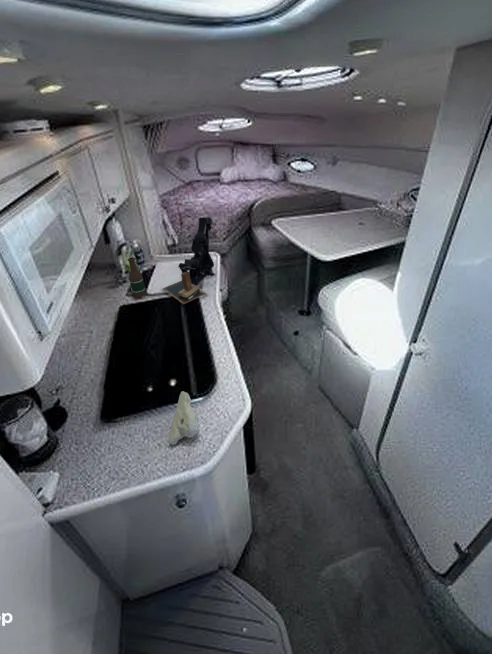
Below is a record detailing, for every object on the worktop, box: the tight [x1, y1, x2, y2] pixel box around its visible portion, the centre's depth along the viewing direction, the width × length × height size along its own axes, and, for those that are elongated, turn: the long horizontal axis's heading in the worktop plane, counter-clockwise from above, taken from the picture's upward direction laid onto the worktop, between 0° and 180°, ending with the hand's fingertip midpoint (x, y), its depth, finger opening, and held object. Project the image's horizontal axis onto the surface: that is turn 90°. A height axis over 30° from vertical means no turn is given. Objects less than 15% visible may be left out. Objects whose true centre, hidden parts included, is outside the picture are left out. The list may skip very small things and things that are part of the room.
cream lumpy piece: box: [168, 390, 200, 446], centre depth 113 cm, size 15×7×15 cm
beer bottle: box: [127, 257, 147, 300], centre depth 188 cm, size 8×8×24 cm
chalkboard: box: [161, 280, 207, 305], centre depth 194 cm, size 24×15×1 cm, turn 41°
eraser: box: [178, 271, 200, 299], centre depth 187 cm, size 6×11×13 cm, turn 148°
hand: (189, 283), depth 186 cm, fingers open, 9 cm apart
